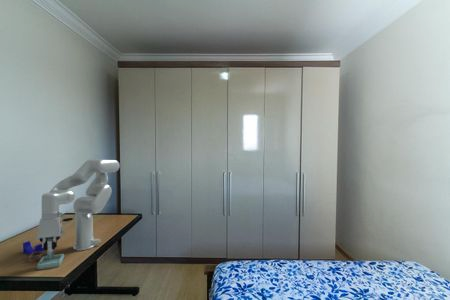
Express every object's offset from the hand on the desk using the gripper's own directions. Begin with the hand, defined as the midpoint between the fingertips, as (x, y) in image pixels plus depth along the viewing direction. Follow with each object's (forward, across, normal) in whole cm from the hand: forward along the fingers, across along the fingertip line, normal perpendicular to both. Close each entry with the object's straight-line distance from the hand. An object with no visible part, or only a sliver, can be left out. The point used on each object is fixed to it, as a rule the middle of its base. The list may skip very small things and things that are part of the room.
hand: (50, 248), depth 129 cm
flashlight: (+5, 0, 0) cm, 5 cm away
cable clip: (+9, +13, -19) cm, 25 cm away
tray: (+8, 0, 0) cm, 8 cm away
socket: (+8, +9, -9) cm, 15 cm away
